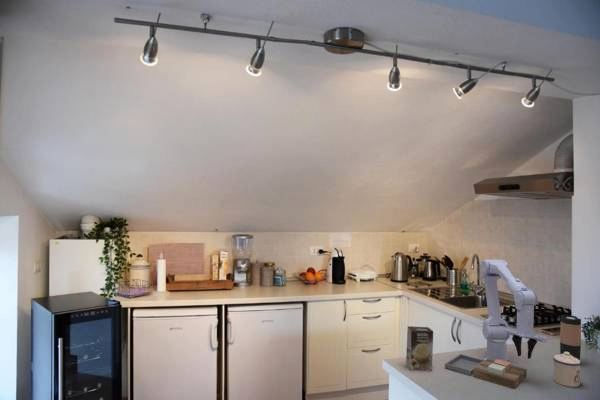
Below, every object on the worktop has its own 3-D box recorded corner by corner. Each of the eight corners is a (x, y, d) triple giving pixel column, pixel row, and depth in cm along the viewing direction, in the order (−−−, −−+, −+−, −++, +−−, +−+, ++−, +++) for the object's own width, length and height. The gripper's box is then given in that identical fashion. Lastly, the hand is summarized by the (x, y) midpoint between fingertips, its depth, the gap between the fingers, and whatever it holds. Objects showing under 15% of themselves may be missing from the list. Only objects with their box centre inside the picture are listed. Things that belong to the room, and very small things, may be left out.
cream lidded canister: (580, 389, 153) (581, 358, 154) (551, 383, 159) (552, 353, 159) (580, 379, 163) (581, 349, 163) (553, 373, 169) (554, 344, 169)
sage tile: (492, 368, 164) (492, 363, 164) (505, 372, 161) (505, 366, 161) (487, 371, 161) (487, 366, 161) (501, 375, 157) (501, 370, 157)
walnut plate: (487, 365, 175) (487, 358, 175) (526, 376, 164) (526, 369, 164) (473, 376, 163) (473, 369, 163) (514, 389, 153) (514, 380, 153)
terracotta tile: (497, 364, 169) (497, 359, 169) (510, 367, 166) (510, 362, 166) (493, 367, 165) (493, 362, 165) (506, 370, 162) (506, 365, 162)
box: (460, 358, 182) (460, 353, 182) (484, 365, 175) (484, 360, 175) (444, 368, 171) (444, 363, 171) (470, 376, 164) (470, 370, 164)
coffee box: (410, 370, 168) (411, 330, 168) (405, 364, 174) (406, 326, 174) (432, 370, 168) (433, 331, 168) (427, 364, 174) (428, 326, 175)
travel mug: (557, 362, 180) (558, 316, 181) (561, 358, 186) (562, 313, 186) (578, 367, 175) (579, 320, 176) (581, 363, 181) (582, 317, 181)
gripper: (501, 319, 162) (501, 354, 162) (543, 327, 152) (543, 364, 152) (507, 316, 167) (506, 350, 167) (548, 324, 158) (547, 359, 157)
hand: (524, 356), depth 160 cm, fingers open, 3 cm apart
